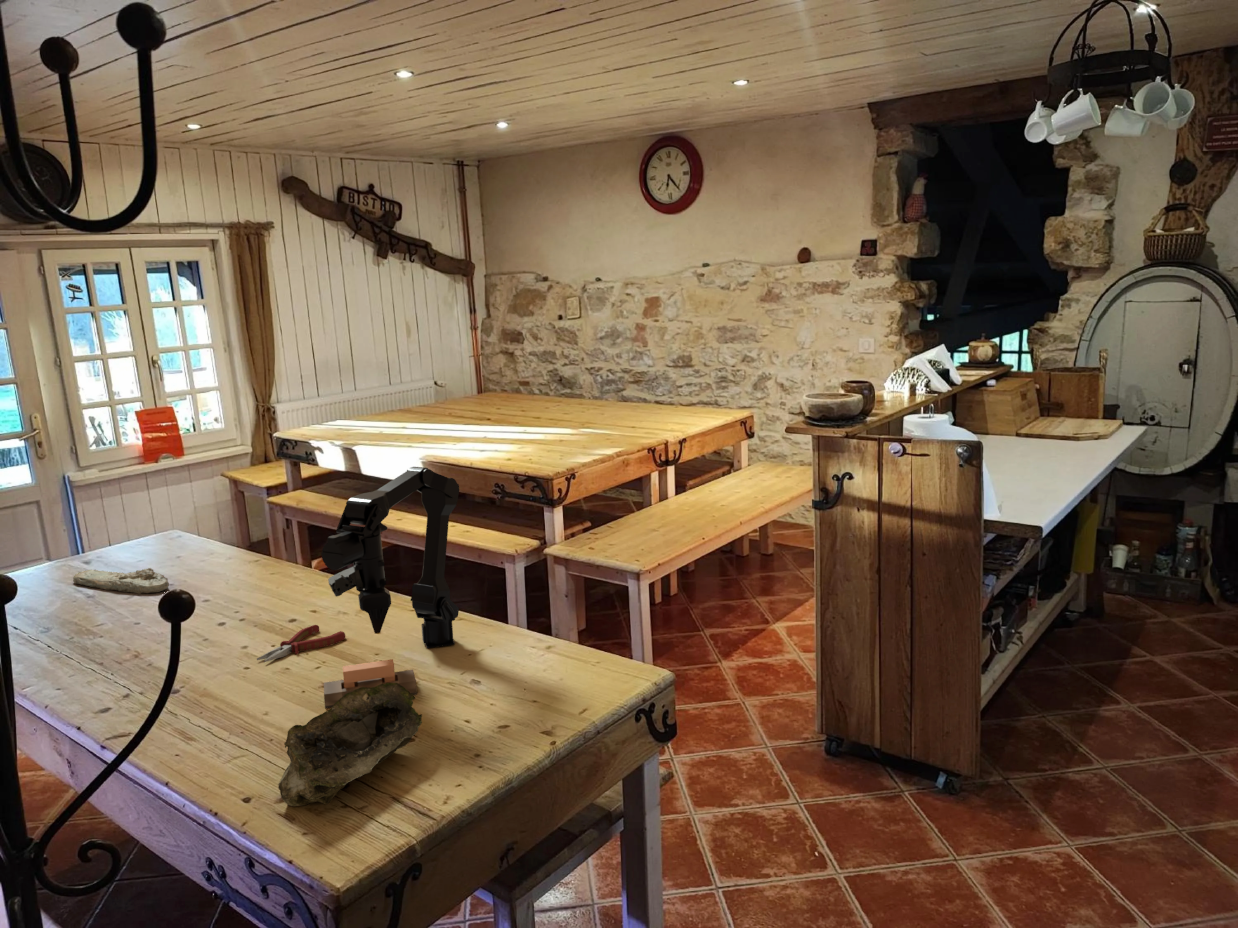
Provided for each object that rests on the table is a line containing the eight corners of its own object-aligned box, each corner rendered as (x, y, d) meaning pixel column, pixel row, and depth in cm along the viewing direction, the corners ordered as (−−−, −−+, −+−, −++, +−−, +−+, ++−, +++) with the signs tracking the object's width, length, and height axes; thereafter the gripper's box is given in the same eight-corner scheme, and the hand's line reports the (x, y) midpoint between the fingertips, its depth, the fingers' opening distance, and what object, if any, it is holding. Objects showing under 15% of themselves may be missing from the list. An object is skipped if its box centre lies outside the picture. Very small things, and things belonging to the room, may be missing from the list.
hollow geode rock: (412, 763, 167) (371, 695, 171) (447, 731, 160) (403, 661, 164) (283, 835, 144) (238, 755, 148) (317, 800, 137) (270, 717, 141)
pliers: (245, 660, 206) (243, 649, 205) (316, 632, 222) (315, 622, 222) (277, 670, 200) (276, 659, 199) (348, 640, 216) (347, 630, 216)
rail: (413, 682, 190) (413, 669, 190) (416, 694, 185) (416, 680, 184) (324, 696, 185) (323, 682, 184) (325, 708, 179) (323, 694, 179)
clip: (394, 686, 188) (392, 658, 187) (396, 691, 185) (393, 664, 184) (344, 693, 185) (342, 666, 184) (345, 699, 182) (343, 671, 181)
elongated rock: (95, 580, 273) (64, 592, 264) (91, 563, 272) (60, 575, 263) (180, 585, 260) (152, 597, 251) (177, 567, 259) (148, 579, 250)
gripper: (327, 548, 195) (334, 616, 198) (330, 574, 178) (338, 647, 181) (379, 541, 199) (386, 608, 202) (388, 566, 181) (394, 638, 185)
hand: (375, 625), depth 192 cm, fingers open, 9 cm apart
